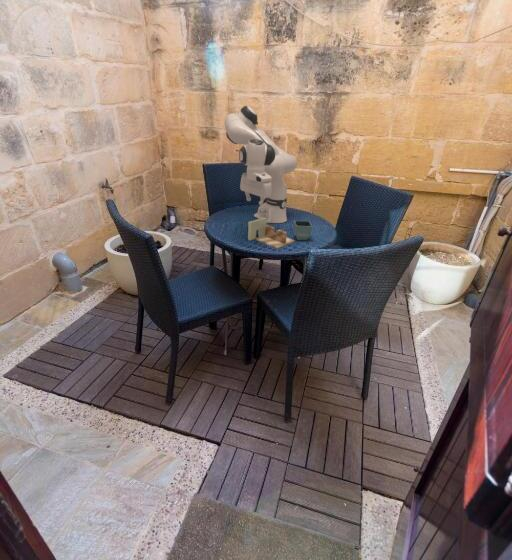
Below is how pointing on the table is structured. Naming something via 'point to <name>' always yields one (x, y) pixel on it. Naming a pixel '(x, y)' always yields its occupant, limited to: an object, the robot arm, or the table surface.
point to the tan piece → (275, 237)
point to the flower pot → (302, 229)
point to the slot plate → (256, 228)
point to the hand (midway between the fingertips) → (254, 202)
